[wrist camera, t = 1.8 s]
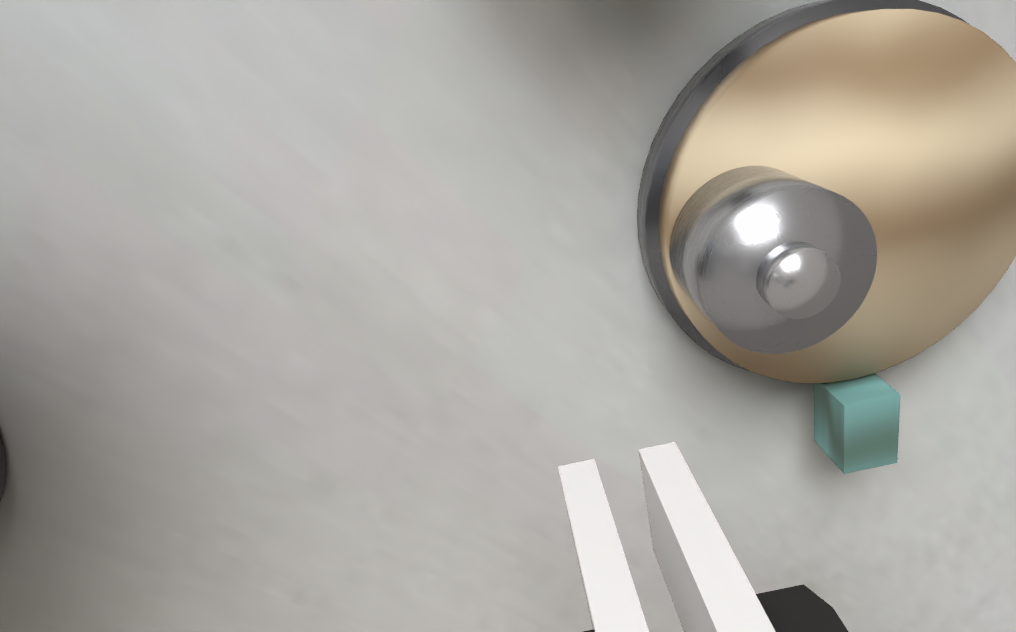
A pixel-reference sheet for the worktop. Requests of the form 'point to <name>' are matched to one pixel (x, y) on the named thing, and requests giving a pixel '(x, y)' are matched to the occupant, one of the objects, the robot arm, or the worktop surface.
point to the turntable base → (687, 106)
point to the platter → (871, 192)
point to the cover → (773, 258)
